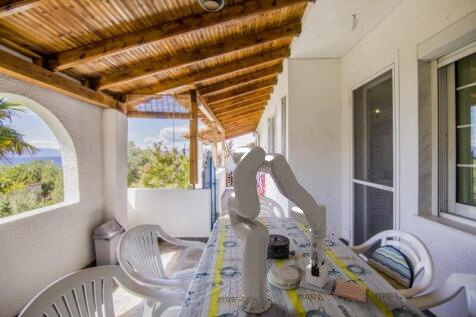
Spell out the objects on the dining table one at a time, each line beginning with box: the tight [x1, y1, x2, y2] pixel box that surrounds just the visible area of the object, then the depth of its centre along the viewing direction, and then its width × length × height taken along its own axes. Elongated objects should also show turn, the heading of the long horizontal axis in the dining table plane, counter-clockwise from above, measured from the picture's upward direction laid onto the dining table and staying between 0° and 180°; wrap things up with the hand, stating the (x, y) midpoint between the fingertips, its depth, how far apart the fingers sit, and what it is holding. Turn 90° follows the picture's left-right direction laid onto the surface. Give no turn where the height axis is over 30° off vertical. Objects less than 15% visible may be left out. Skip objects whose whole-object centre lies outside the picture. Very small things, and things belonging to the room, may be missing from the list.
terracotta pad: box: [334, 279, 367, 303], centre depth 100 cm, size 11×11×1 cm
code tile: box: [298, 272, 335, 296], centre depth 106 cm, size 13×13×1 cm
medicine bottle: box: [305, 257, 329, 288], centre depth 106 cm, size 7×7×12 cm
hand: (317, 271), depth 106 cm, fingers open, 9 cm apart
